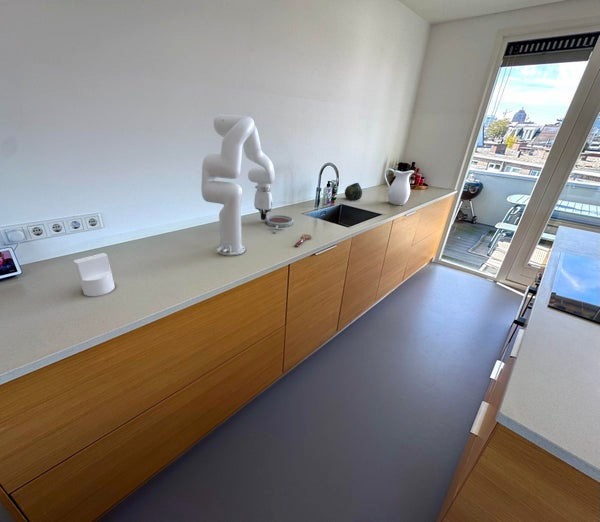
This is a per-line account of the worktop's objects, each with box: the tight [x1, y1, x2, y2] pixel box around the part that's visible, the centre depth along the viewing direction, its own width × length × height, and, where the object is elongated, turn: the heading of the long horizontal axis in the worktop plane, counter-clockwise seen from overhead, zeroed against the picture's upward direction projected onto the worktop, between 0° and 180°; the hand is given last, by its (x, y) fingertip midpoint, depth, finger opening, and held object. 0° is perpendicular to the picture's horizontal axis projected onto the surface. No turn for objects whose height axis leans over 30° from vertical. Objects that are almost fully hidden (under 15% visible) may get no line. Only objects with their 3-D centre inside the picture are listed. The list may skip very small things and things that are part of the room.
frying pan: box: [265, 214, 294, 234], centre depth 171 cm, size 17×3×28 cm
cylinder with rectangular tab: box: [73, 252, 116, 297], centre depth 97 cm, size 9×9×12 cm
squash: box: [344, 182, 363, 201], centre depth 244 cm, size 14×15×15 cm
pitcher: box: [383, 168, 415, 206], centre depth 240 cm, size 24×17×28 cm
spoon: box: [294, 233, 312, 248], centre depth 151 cm, size 18×5×2 cm, turn 158°
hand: (263, 219), depth 174 cm, fingers closed
